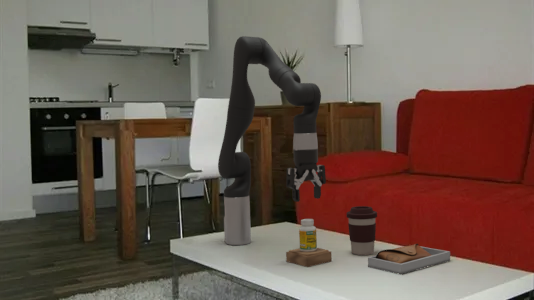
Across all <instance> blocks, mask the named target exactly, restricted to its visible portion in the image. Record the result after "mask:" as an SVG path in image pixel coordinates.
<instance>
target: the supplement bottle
mask: <svg viewBox="0 0 534 300" xmlns="http://www.w3.org/2000/svg"><path fill="white" fill-rule="evenodd" d="M314 221H315V220H314V219H313V218H304V219H301V220H300V225H301V226H299V227H298V228H299V229H298V230H299V231H298V234H299V248H300V250H301V251H303V252H313V251H316V250H317V248H318V245H317V243H318V242H317V227H316V226H315V222H314Z"/></svg>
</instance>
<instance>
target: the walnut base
mask: <svg viewBox="0 0 534 300" xmlns="http://www.w3.org/2000/svg"><path fill="white" fill-rule="evenodd" d="M285 254H286V255H285V257H286V260H285V261H286V262H287V263H291V264H294V265H298V266H301V267H307V268H310V267H313V266H317V265H321V264H322V265H323V264H327V263H330V262H333V261H332V259H333V258H332V257H333V256H332V251H329V249H324V248H321V247H317V250H316V251H313V252H303V251H301V250H300V247H299V248H293V249H290V250H288V251H285Z"/></svg>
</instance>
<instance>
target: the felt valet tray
mask: <svg viewBox="0 0 534 300" xmlns="http://www.w3.org/2000/svg"><path fill="white" fill-rule="evenodd" d="M419 246H420V245H419ZM420 247H421V248H423V249H424V250H426V251H427V252H428V253H430V254H431V255H432V256H428V257H424V258H420V259H417V260H413V261H409V262H405V263H402V264H400V263H395V262H390V261H386V260H381V259H376V255H372V256H368V257H367V267H368V268H371V269H376V270H381V271H384V270H385V272H388V271H390V272H389V273H393V272H394V273H393V274H397V273H399V274H398V275H401V274H402V275H404V274H403V273H405V274H407V273H406V272H409V271H412V272H414V271H413V270H416V269H419V270H421V269H420V268H423V269H425V268H424V267H426V268H428V267H427V266H430V267H432V266H431V265H434V266H436V265H435V264H437V265H439V263H441V264H444V263H447V261H448V262H450V261H451V251H449V250H444V249H439V248H438V249H437V248H430V247H427V246H426V247H425V246H420ZM443 262H444V263H443ZM416 271H417V270H416ZM409 273H410V272H409Z"/></svg>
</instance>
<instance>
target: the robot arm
mask: <svg viewBox="0 0 534 300" xmlns="http://www.w3.org/2000/svg"><path fill="white" fill-rule="evenodd" d="M232 62H233V63H232V79H231V86H230V94H229V100H228V106H227V115H226V123H225V129H224V134H223V135H224V136H223V139H222V143H221V148H220V152H219V155H218V162H217V168H218V173H219V175H220V177H221V178H222V179H223V178H224V179H234V181H233V182H232V183H231V184H230V185H228V186H227V187H225V188H224V190H223V201H224V203H223V204H224V216H223V229H224V230H223V231H224V233H223V234H224V243H225V244H226V245H230V246H242V245H249V244H251V243H252V234H251V233H252V229H251V228H252V227H251V226H252V225H251V203H250V190H251V186H252V185H251V184H252V181H251V180H252V179H251V178H252V177H251V176H252V175H251V174H252V173H251V172H252V171H251V170H252V165H251V159H250V156H249V155H248V153H247V152H245V151H237V148H238V144H239V142H240V140H241V139H242V137H243V136H244V134H245V133H246V131H247V130H248V129H249V127H250V125H251V124H252V122H253V119H254V114H255V108H256V107H255V106H256V100H255V97H254V93H253V91H252V89H251V86H250V84H249V80H248V67H249V65H262V66H264V67H265V68H266V69H268V75H269V78H270V80H271V81H272V82H273V84H274V85H276V86H277V87H278V88H279V89H280V90H281V91H282V92H283V95H284V97H285V99H286V101H287V102H288V103H289V104H291V105H293V106H295V107H303V110H302V112H301V113H298V114H296V115H294V116H293V138H292V139H293V141H292V146H293V150H292V151H293V163H294V165H295V166H294V168H292V167H287V168H286V176H285V177H286V180H285V181H286V186H285V187H286V188H289V189H291V197H292V200H293V202H300V201H301V200H300V187H301V185H302V184H303V183H304V182H307V181H310V182H311V183H312V184H313V185H314V186H313V198H314V199H321V196H322V185H325V184H326V183H327V176H326V167H325V165H324V164H317V163H319V147H318V146H319V145H318V133H317V118H318V115H319V114H318V113H319V109H320V106H321V101H322V100H321V99H322V94H321V90H320V87H319V86H318V85H317V84H316V83H312V82H302V80H301V77H300V75H298V73H296V71H294V70H293V68H291V67H290V66H288V64H286V63H285V62H284V61H283V60H282V59H281V58H280V57H279V56H278V54H277V52H276V51H275V50H274V49H273V47H272V46H271V45H270V43H268V41H267V40H266V39H264V38H263V37H259V36H246V35H245V36H243V35H242V36H240V37H238V38H237V40H236V42H235V44H234V49H233V61H232Z"/></svg>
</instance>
